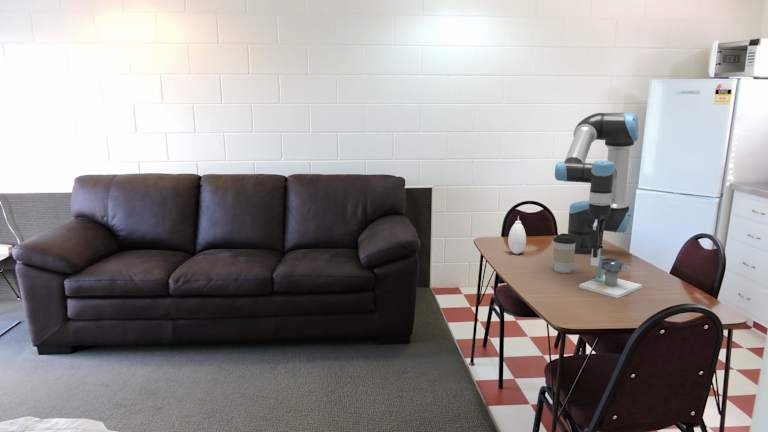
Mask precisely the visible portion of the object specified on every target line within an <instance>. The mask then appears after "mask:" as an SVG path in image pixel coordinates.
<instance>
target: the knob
mask: <svg viewBox="0 0 768 432" xmlns="http://www.w3.org/2000/svg"><path fill="white" fill-rule="evenodd" d="M624 263H625V262H624V261H623V260H621V259H617V258H611V257H610V258H604V259H602V260H601V259H600V261H599V265H600V266H601V269H603V271H604V272H605V271H609V272H618V273H621V272H627V273H628V272H630V271H631V265H628V264H624ZM589 264H591V257H590V258H589Z"/></svg>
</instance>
